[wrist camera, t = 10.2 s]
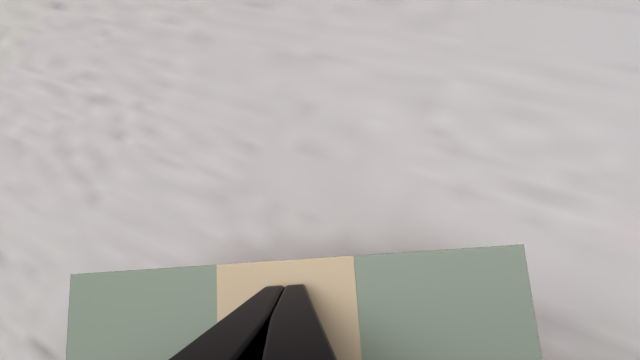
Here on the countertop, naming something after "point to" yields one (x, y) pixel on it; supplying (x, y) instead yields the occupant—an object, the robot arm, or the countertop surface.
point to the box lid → (321, 305)
